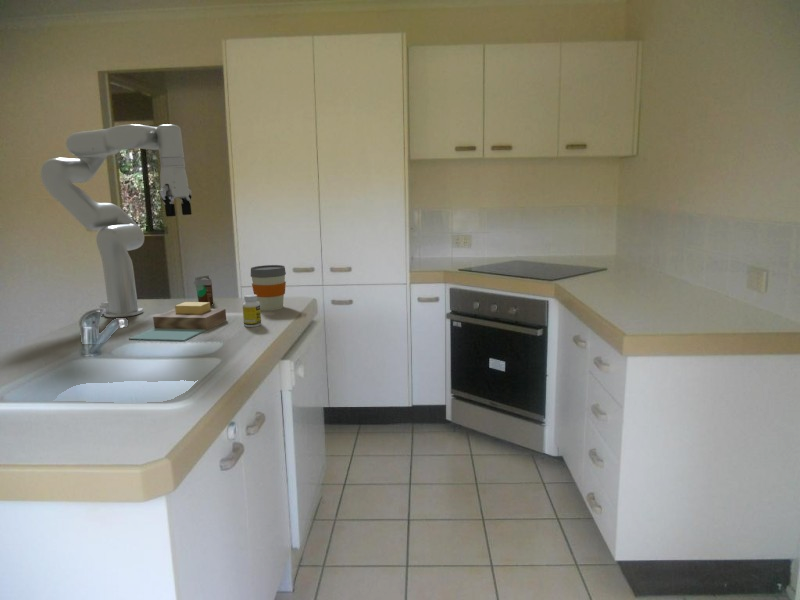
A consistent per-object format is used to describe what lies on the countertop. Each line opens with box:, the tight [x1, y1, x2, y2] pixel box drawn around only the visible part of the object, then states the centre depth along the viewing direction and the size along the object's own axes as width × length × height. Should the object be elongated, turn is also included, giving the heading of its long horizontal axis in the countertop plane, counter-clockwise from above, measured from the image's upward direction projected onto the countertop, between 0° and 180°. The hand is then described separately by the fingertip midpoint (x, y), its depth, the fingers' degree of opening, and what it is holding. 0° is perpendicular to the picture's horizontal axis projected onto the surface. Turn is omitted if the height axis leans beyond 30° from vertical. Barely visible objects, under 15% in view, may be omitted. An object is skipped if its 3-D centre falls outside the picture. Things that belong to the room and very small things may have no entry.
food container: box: [193, 275, 214, 306], centre depth 217 cm, size 12×6×10 cm, turn 23°
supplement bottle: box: [242, 293, 262, 328], centre depth 180 cm, size 5×5×10 cm
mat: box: [128, 327, 207, 342], centre depth 171 cm, size 18×12×1 cm, turn 80°
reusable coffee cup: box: [250, 264, 287, 311], centre depth 205 cm, size 13×12×15 cm
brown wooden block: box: [152, 308, 227, 331], centre depth 183 cm, size 18×13×4 cm
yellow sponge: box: [174, 301, 212, 314], centre depth 185 cm, size 9×6×2 cm, turn 80°
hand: (179, 215), depth 191 cm, fingers open, 9 cm apart
